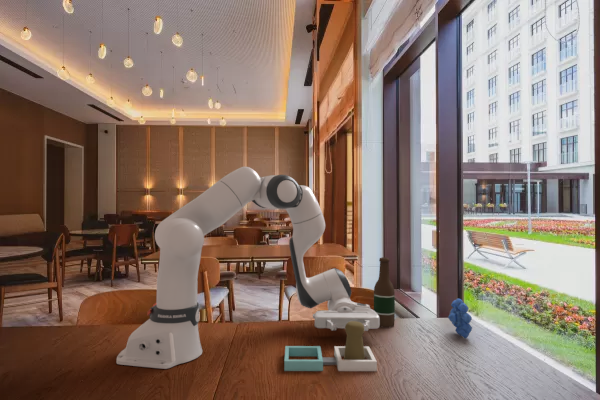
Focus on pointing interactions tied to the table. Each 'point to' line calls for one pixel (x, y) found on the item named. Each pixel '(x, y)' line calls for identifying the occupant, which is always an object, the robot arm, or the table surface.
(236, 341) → the table surface
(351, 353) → the olive pawn
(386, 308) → the beer bottle
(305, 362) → the teal socket
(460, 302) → the grapes
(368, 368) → the white socket
